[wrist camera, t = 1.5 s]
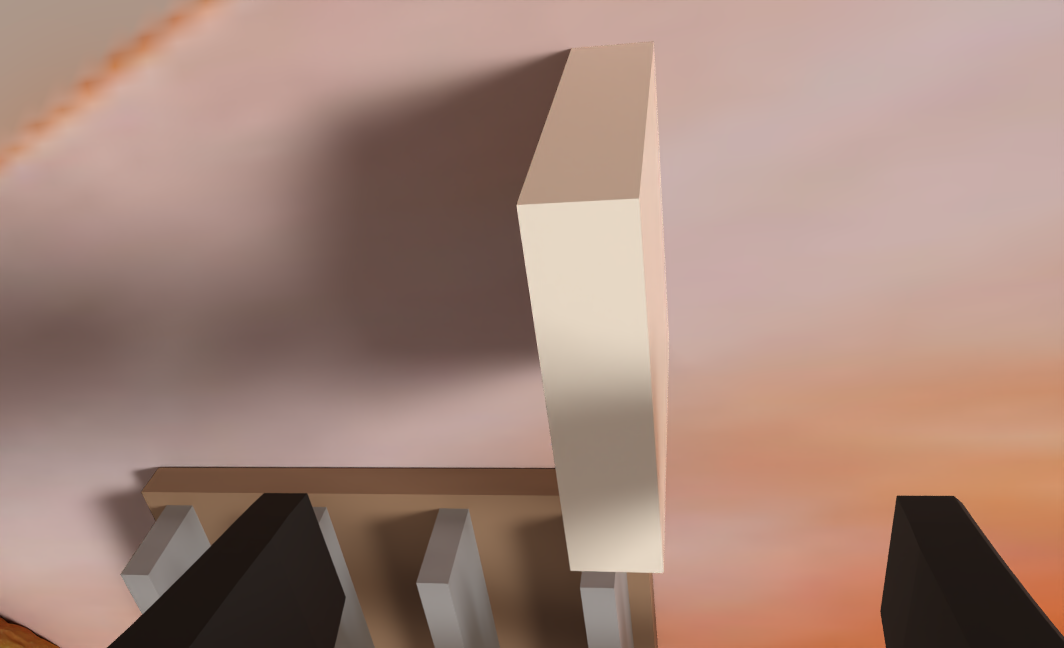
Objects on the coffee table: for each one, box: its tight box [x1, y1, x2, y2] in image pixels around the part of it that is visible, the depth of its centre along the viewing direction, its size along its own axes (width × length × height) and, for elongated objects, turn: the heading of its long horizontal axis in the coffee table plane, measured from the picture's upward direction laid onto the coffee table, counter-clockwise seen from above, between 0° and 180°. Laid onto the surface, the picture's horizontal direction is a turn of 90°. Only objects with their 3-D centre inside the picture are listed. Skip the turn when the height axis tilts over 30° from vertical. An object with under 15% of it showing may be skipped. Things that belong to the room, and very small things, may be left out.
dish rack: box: [121, 468, 658, 648], centre depth 25 cm, size 9×14×4 cm, turn 97°
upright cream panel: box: [516, 41, 669, 573], centre depth 16 cm, size 7×2×7 cm, turn 7°
